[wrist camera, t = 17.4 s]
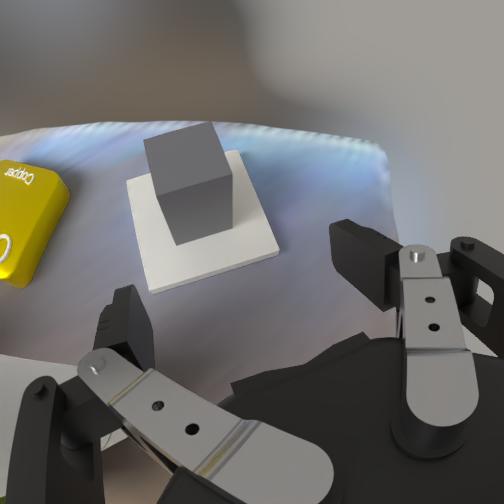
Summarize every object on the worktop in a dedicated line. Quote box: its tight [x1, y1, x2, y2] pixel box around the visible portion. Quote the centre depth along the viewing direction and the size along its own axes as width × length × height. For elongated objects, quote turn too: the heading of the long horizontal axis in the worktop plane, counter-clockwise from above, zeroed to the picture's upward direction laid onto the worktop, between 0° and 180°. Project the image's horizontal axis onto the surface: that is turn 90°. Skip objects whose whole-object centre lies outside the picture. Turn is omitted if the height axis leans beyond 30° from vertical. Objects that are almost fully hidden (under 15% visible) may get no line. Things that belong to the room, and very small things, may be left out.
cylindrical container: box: [0, 354, 128, 497], centre depth 16 cm, size 7×7×25 cm
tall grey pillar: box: [144, 121, 233, 246], centre depth 30 cm, size 6×6×10 cm
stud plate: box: [126, 149, 280, 294], centre depth 32 cm, size 14×14×8 cm
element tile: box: [0, 160, 70, 289], centre depth 32 cm, size 15×15×5 cm
